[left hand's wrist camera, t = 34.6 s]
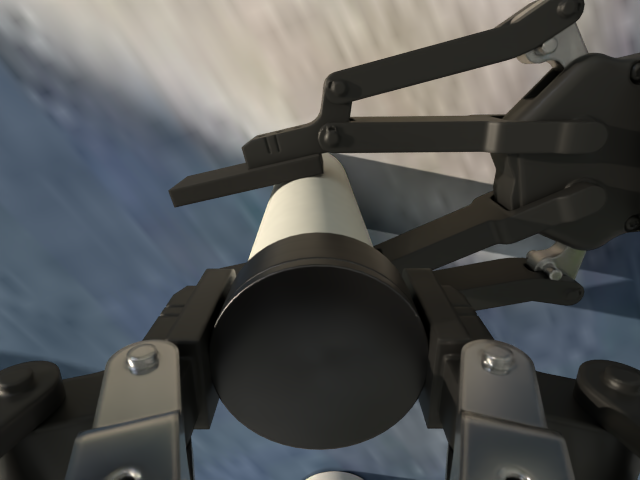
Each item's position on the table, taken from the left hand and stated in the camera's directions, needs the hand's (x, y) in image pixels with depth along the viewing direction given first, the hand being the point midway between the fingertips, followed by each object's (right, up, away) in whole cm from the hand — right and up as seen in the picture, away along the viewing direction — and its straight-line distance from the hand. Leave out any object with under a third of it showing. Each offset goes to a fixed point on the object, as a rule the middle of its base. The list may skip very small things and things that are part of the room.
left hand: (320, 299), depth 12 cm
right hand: (-6, +2, +8) cm, 10 cm away
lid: (0, -1, -3) cm, 3 cm away
